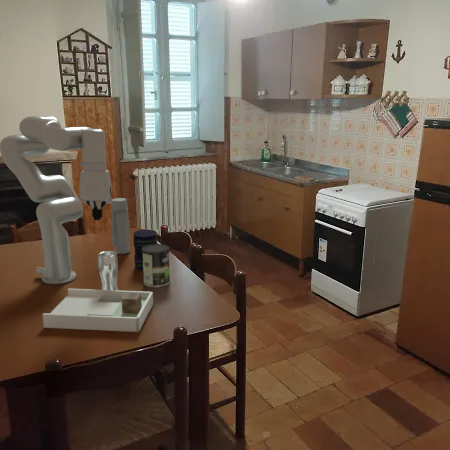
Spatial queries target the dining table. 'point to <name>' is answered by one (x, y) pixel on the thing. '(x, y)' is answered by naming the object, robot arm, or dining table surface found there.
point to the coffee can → (156, 265)
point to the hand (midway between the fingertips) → (97, 219)
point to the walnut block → (131, 303)
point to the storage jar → (142, 245)
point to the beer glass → (108, 269)
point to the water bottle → (120, 226)
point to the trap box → (97, 311)
